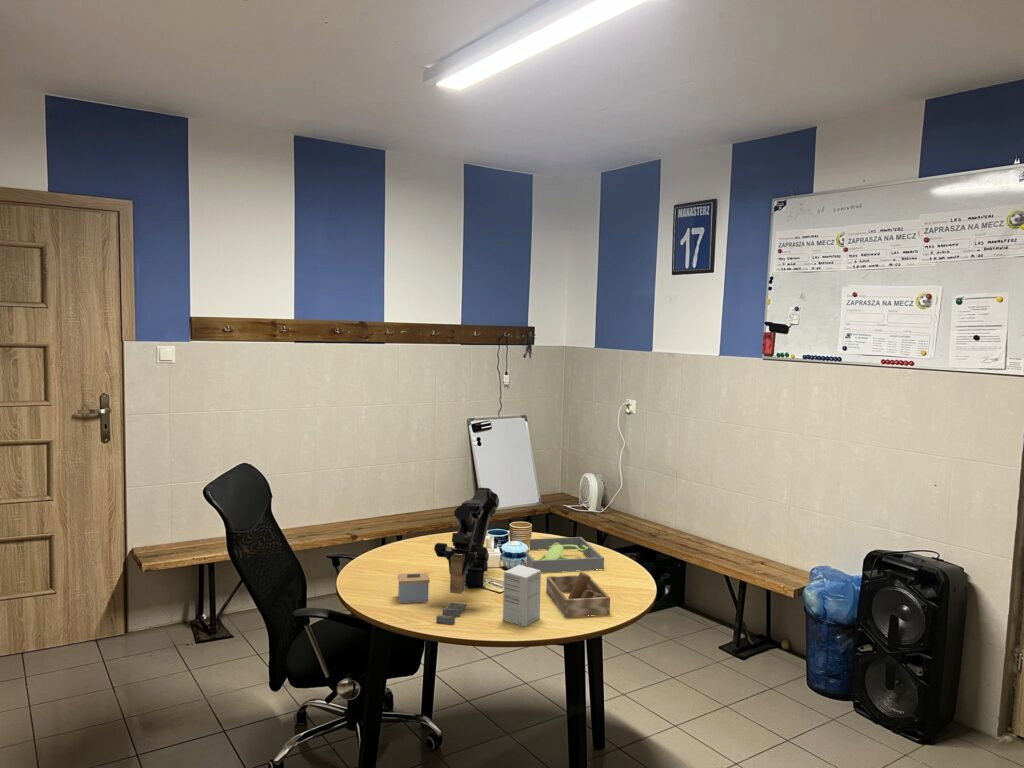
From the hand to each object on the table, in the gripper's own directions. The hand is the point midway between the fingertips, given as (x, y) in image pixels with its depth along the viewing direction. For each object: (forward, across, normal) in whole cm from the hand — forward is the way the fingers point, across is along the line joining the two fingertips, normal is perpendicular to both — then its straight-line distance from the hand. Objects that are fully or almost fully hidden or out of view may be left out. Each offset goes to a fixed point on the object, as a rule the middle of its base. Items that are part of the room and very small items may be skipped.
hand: (456, 574), depth 256 cm
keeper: (+15, 0, +3) cm, 15 cm away
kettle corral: (-36, +26, +55) cm, 71 cm away
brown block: (+4, 0, +6) cm, 7 cm away
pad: (+8, 0, +10) cm, 13 cm away
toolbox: (+5, -18, +13) cm, 22 cm away
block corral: (-4, +40, +22) cm, 45 cm away
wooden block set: (-4, +42, +22) cm, 48 cm away
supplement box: (+10, +24, +8) cm, 27 cm away
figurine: (-37, +26, +56) cm, 72 cm away
